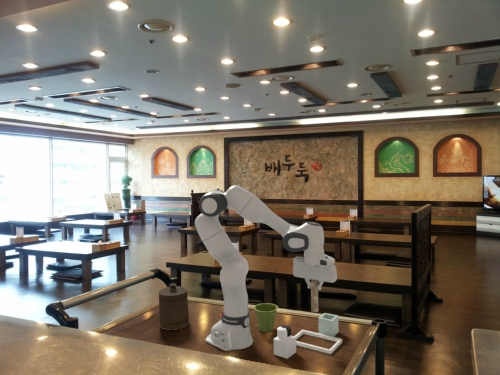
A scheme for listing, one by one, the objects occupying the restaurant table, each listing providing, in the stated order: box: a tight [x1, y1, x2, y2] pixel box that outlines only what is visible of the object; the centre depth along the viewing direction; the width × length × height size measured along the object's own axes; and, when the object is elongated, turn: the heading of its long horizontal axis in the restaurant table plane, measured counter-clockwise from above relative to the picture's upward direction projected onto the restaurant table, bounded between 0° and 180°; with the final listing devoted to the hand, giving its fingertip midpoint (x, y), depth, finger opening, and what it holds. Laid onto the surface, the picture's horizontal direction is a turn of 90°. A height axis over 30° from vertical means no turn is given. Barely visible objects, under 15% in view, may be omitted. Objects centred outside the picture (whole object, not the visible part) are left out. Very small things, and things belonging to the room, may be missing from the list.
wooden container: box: [158, 282, 190, 331], centre depth 213 cm, size 15×15×22 cm
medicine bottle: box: [272, 324, 297, 360], centre depth 179 cm, size 7×7×12 cm
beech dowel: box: [310, 279, 319, 313], centre depth 185 cm, size 3×3×14 cm
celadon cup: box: [317, 312, 340, 337], centre depth 196 cm, size 7×7×9 cm
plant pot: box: [253, 302, 279, 333], centre depth 205 cm, size 12×12×11 cm
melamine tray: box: [294, 329, 343, 357], centre depth 187 cm, size 20×13×2 cm, turn 56°
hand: (314, 288), depth 185 cm, fingers closed on beech dowel, 3 cm apart
